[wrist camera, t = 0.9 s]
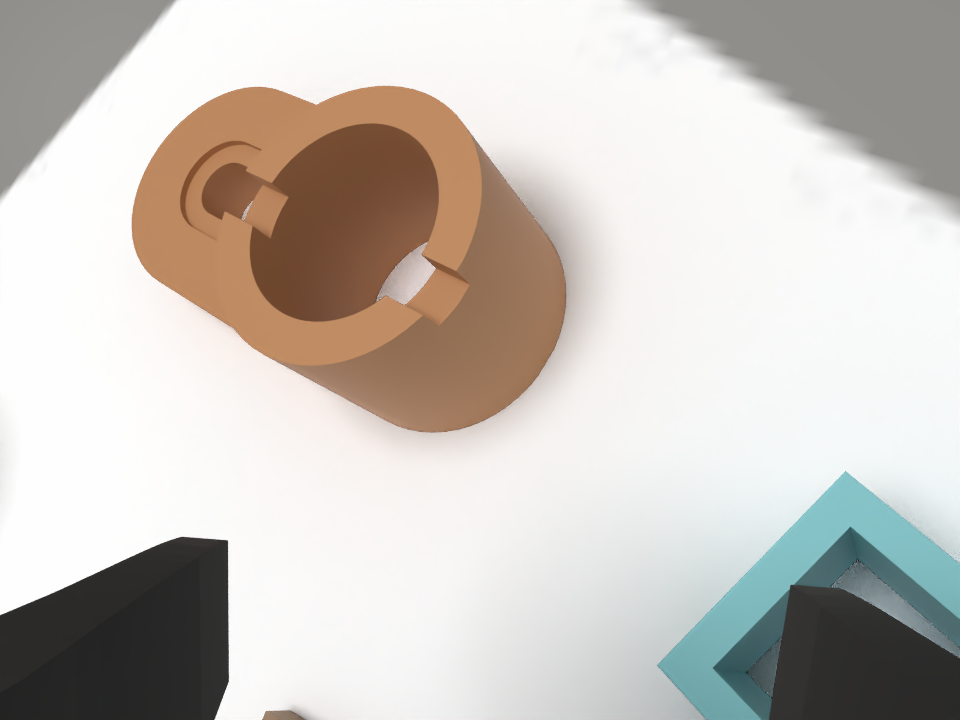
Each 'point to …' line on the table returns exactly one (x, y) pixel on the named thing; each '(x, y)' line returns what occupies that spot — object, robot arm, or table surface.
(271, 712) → the post stand
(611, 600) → the table surface
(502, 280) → the bracket
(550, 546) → the table surface
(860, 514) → the teal collar
